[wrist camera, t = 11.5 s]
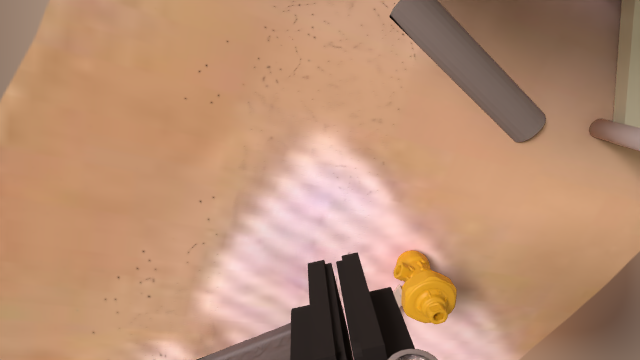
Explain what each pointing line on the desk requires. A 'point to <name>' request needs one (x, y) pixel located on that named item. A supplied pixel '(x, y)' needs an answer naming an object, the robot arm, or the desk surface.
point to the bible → (259, 347)
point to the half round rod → (469, 66)
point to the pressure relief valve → (423, 289)
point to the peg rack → (625, 84)
